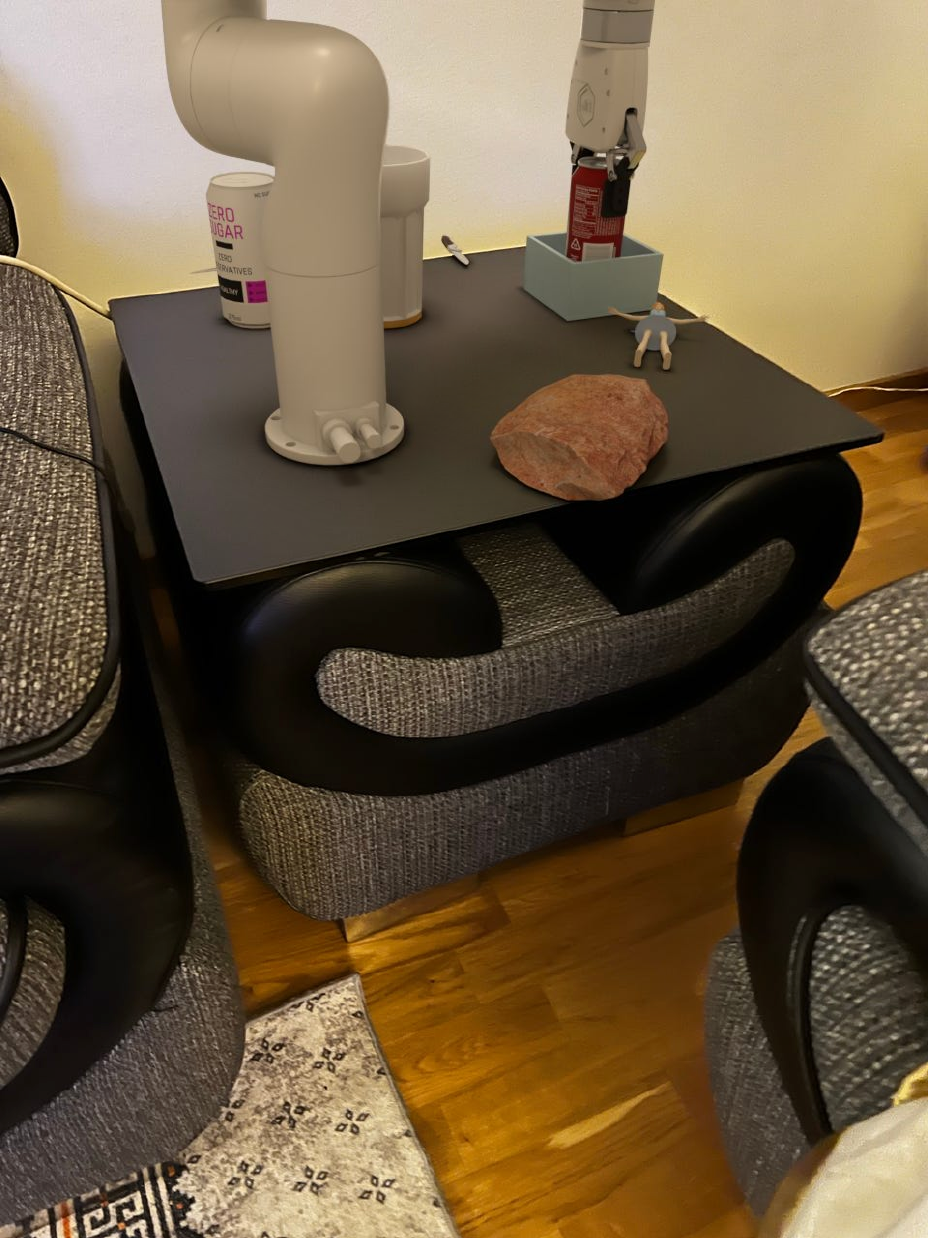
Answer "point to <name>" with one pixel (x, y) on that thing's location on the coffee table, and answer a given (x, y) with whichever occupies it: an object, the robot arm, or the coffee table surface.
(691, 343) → the coffee table surface
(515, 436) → the stone
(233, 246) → the supplement can
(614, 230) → the soda can
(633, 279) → the case
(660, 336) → the fairy figurine
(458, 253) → the pocket knife
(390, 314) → the cup
